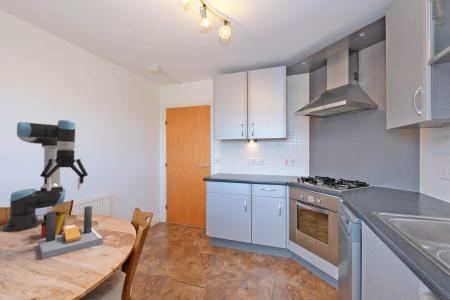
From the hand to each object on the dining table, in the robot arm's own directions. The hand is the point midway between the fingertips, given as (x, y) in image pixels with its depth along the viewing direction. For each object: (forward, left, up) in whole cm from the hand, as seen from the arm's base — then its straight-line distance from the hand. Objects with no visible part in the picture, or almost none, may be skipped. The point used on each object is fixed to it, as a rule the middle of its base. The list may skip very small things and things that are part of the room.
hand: (64, 190), depth 110 cm
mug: (-15, -2, -28) cm, 31 cm away
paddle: (+5, +3, -22) cm, 22 cm away
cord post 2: (+1, +11, -25) cm, 27 cm away
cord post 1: (+1, -5, -25) cm, 25 cm away
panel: (+5, +3, -28) cm, 28 cm away
